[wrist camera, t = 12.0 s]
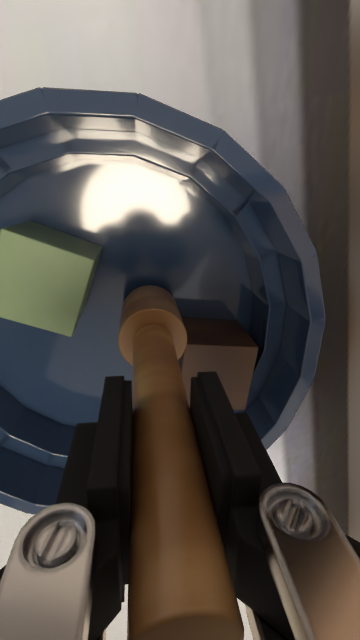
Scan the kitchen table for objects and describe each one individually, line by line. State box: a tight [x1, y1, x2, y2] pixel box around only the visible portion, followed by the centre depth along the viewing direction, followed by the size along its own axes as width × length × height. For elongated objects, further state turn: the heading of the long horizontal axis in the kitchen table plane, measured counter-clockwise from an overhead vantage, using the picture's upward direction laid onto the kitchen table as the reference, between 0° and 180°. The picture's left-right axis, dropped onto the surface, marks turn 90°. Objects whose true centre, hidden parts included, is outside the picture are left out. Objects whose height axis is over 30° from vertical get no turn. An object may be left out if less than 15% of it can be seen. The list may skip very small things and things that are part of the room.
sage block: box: [0, 221, 103, 337], centre depth 17 cm, size 4×4×4 cm
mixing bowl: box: [0, 87, 326, 515], centre depth 18 cm, size 21×21×6 cm
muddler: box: [118, 285, 244, 640], centre depth 12 cm, size 3×3×15 cm
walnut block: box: [178, 317, 259, 410], centre depth 19 cm, size 4×4×4 cm
